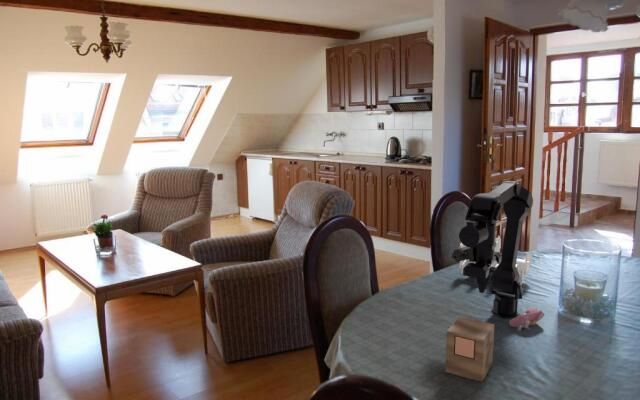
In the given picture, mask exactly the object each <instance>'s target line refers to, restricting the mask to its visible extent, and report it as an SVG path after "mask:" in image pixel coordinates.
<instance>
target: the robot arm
mask: <svg viewBox="0 0 640 400" xmlns="http://www.w3.org/2000/svg"><path fill="white" fill-rule="evenodd" d="M533 204H534V198H533V195H532V194H531V192H530V191H529V190H527V188H525V187H523V186H522V184H521V183H520V182H518V181H513V180H504V181H502V182H501V184H500V185H498V186H497V187H495V188H493V189H492V190H491V191H490V192H486V193H482V192H481V193H478V194H475V195H474V196H473V198H471V200H470V203H469V206H468V209H467V210H466V211H467V212H466V215H465V218H464V220H465V221H466V225H465V226H464V227H462V228H461V229H460V231H459V233H458V239H459V241H460V244H461V243H462V244H463V245H465V246H466V247H462V248H460V247H458V248H454V249H453V251H452V252H451V258H452V259H453V260H454V263H460V261H463V260H468V259H469V262H475V263H469V264H467V265H466V266H465V267H464V268H463V274H462V275H463V276H464V277H466V276H468V277H470V278H475V280H476V284H477V287H478V288H477V289H478V291H479V293H480V294H484V293H485V291H486V289H487V287H488V286H489V290H490V295H494V299H493V302H492V303H493V305H492V308H491V311H492V312H493V313H495V314H496V315H497V316H498V317H500V318H502V319H505V318H506V319H507V318H513V317H514V318H516V317H517V316H519V315H520V314H521V313H519V312H518V305H519V304H518V303H519V300H522V299H523V295H524V288H523V285H522V284H521V282H520V281H519V279H520V275H519V273H518V271H517V268H516V261H517V259H518V253H519V249H520V247H519V245H520V241H521V234H522V233H521V232H522V227H523V222H524V220H525V219H526V218H527V217H528V215H529V214H530V211H531V209H532V207H533ZM502 211H503V213H504V215H505V218H506V222H505V228H504V236H503V241H502V242H503V243H502V247H501V253H500V252H494V248H495V247H496V242H495V238H496V228H497V224H496V223H497V222H498V220H499V217H500V215H501V212H502ZM494 261H497V264H499V265H498V266H497V268H496V267H491V264H492V263H493V262H494Z"/></svg>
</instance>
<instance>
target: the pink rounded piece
mask: <svg viewBox="0 0 640 400" xmlns="http://www.w3.org/2000/svg"><path fill="white" fill-rule="evenodd" d="M519 314H520V315H519V316H516V317H514V318H513V317H512V318H511V319H510V320H509V326H510V327H512V328H518V327H522V328H523V329H526V328H527V327H529V326H532V327H533V326H535V325H536V323H537V322H539V321H541V320H542V319H543V318H544V317H545V313H544V312H543V311H542V310H541V309H539V308H538V307H536V308H528V309H526V310H525V311H523V312H521V313H519Z"/></svg>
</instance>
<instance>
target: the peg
mask: <svg viewBox="0 0 640 400" xmlns="http://www.w3.org/2000/svg"><path fill="white" fill-rule="evenodd" d="M475 341H476V340H473V339H469V338H464V337H460V336H456V340H455V354H458V355H462V356H466V357H470V358H474V357H475Z"/></svg>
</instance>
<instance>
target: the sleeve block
mask: <svg viewBox="0 0 640 400" xmlns="http://www.w3.org/2000/svg"><path fill="white" fill-rule="evenodd" d="M456 336H460V337H464V338H469V339H473V340H476V341H475V357H474V358H470V357H466V356H462V355H458V354H455V340H456ZM494 339H495V323H489V322H487V321H486V322H485V321H480V320H476V319H471V318H466V317H460V316H458V318H457V319H456V320H455V321H454V322H453V323H452V324H451V325H450V327H449V328H448V329H447V330H446V342H445V371H444V372H445V373H448V374H452V375H455V376H459V377H463V378H466V379H469V380H474V381H477V382H481V383H482V382H483V381H484V379H485V378H486V376H487V374H488V372H489V370H490V369H491V367H492V366H493V361H494V360H493V359H494Z"/></svg>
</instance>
